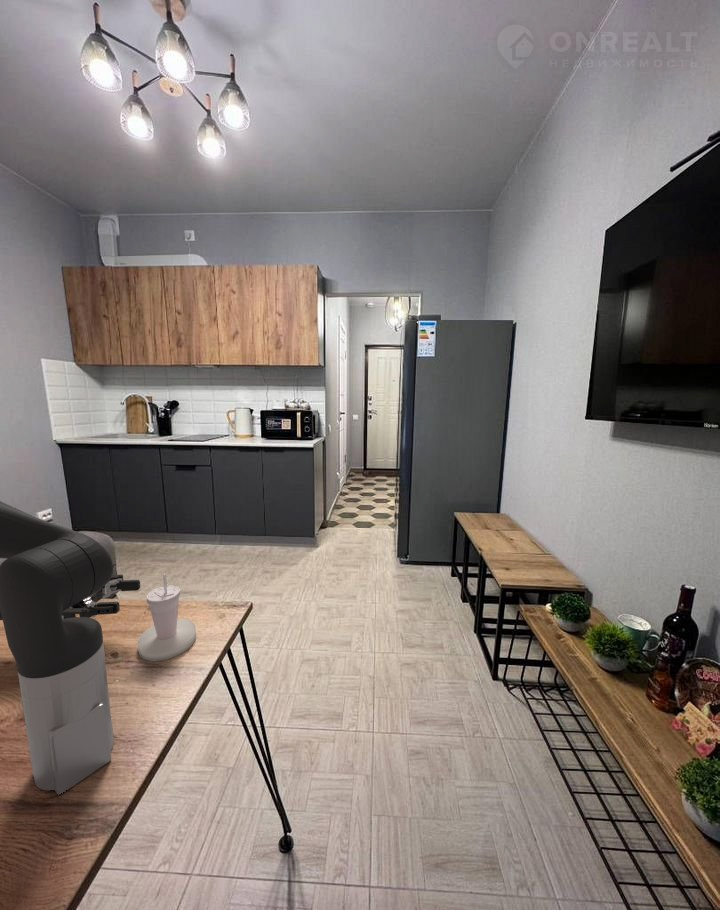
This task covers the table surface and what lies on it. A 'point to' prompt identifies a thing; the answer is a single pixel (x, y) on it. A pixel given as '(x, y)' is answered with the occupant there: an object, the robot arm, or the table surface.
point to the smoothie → (164, 609)
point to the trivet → (167, 642)
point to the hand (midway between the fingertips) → (129, 595)
